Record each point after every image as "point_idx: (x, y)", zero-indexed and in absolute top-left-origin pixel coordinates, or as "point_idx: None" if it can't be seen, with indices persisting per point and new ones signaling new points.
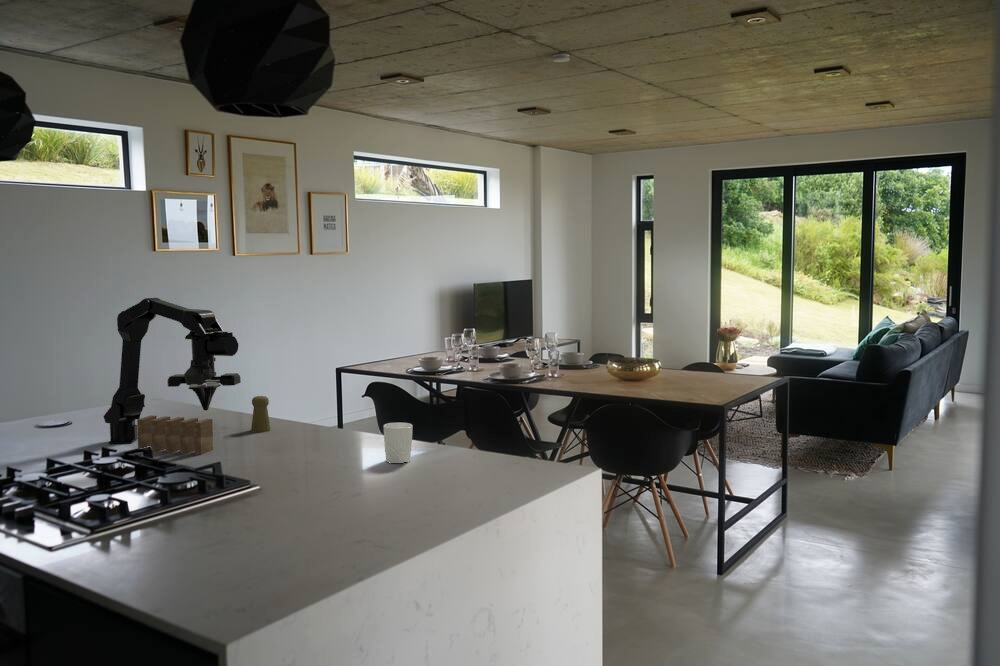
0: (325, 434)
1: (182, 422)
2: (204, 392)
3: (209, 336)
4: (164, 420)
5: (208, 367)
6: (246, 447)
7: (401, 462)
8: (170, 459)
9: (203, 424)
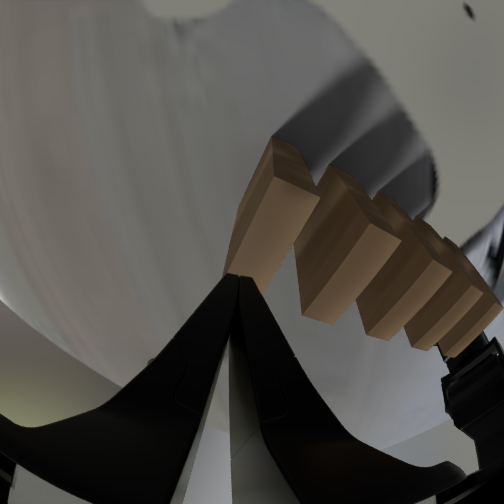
0: (36, 308)
1: (387, 232)
2: (237, 446)
3: None
4: (435, 314)
5: None
6: (134, 224)
7: None
8: (378, 92)
9: (258, 201)
